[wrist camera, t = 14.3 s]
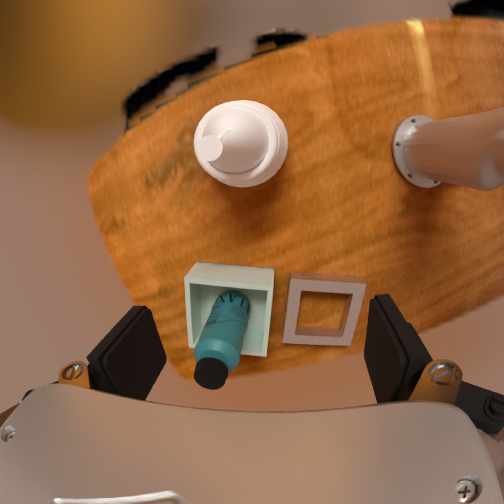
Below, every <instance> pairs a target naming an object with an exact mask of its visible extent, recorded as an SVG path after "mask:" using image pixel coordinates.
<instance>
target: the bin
mask: <svg viewBox="0 0 504 504" xmlns="http://www.w3.org/2000/svg"><path fill="white" fill-rule="evenodd" d="M184 281H185V300H186V315H187V328H188V340H189V347H191V348H195V346H196V344H197V343H198V340H199V338H200V337H199V336H200V335H201V332H202V331H203V329H204V328H203V327H204V326H205V324H206V322H207V319H208V317H209V315H210V313H211V311H210V310H212V309H211V308H212V306H213V304H214V303H215V302H216V300H215V299H217V298H218V297H217V296H218V295H221V294H222V293H223V292H226V291H231V290H233V291H238V292H241V293H242V294H244V295H245V296H246V297H247V298H248V300H249V301H250V302H249V303H250V307H251V309H250V310H251V311H250V314H249V315H250V316H249V318H250V319H248V322H249V323H248V325H247V329H246V332H245V336H244V340H243V345H242V350H241V354H243V355H253V356H264V357H266V355H267V346H268V336H269V327H270V317H271V307H272V297H273V286H274V268H262V267H250V266H238V265H227V264H215V263H204V262H196V263H195V265H194V266H193V267H192V269H191V270H190V271H189V272H188V274H187V275H186V276H185V277H184ZM214 301H215V302H214ZM201 330H202V331H201Z"/></svg>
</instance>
